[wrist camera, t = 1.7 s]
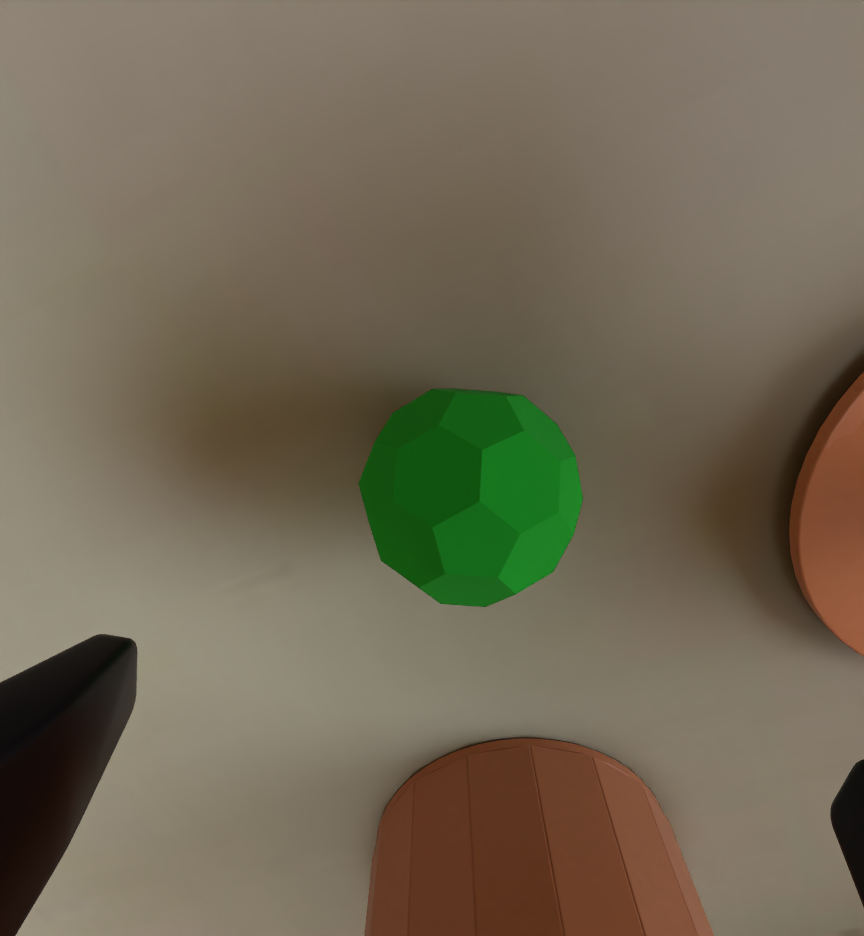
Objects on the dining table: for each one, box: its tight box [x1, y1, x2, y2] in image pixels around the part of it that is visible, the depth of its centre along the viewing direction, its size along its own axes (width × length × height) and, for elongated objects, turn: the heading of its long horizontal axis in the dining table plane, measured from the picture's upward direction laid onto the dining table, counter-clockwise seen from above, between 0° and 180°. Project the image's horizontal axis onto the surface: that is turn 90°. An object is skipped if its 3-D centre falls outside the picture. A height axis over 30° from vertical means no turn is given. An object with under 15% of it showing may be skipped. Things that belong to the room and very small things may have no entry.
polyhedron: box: [359, 389, 583, 607], centre depth 14 cm, size 5×5×5 cm
